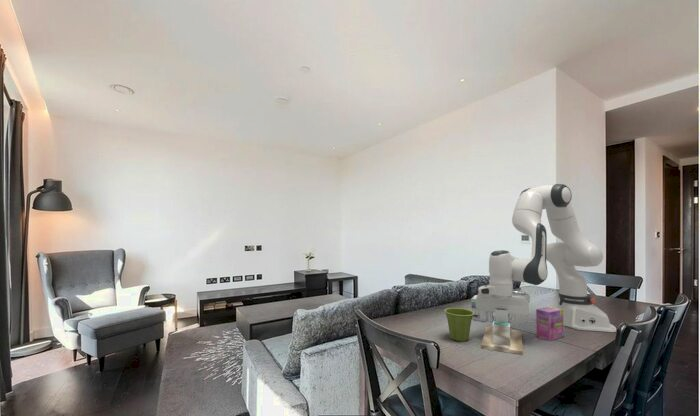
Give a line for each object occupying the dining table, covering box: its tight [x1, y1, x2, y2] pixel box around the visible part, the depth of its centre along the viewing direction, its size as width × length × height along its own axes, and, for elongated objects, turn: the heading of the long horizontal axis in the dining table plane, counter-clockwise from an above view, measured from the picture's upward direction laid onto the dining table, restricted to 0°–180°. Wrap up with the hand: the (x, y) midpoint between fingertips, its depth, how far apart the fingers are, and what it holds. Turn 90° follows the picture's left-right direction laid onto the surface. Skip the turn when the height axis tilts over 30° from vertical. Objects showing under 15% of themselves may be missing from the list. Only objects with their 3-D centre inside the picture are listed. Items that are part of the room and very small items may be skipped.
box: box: [535, 305, 565, 342], centre depth 134 cm, size 10×6×12 cm, turn 118°
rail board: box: [480, 314, 524, 356], centre depth 130 cm, size 14×26×9 cm, turn 153°
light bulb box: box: [470, 294, 490, 323], centre depth 162 cm, size 11×7×11 cm, turn 147°
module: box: [494, 308, 508, 323], centre depth 130 cm, size 4×7×10 cm, turn 153°
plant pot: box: [444, 307, 474, 342], centre depth 132 cm, size 12×12×11 cm
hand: (502, 323), depth 130 cm, fingers closed on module, 4 cm apart
